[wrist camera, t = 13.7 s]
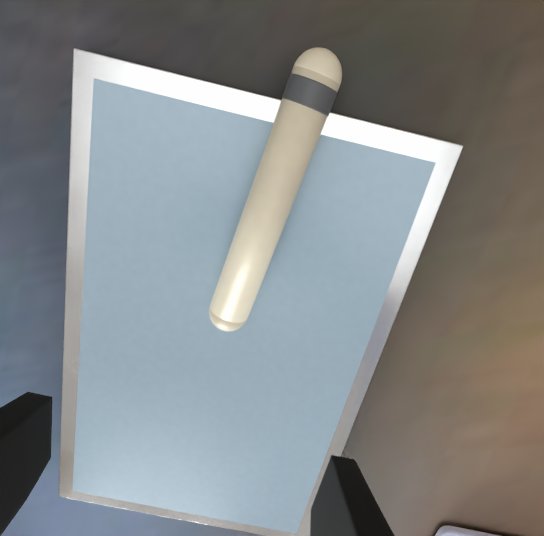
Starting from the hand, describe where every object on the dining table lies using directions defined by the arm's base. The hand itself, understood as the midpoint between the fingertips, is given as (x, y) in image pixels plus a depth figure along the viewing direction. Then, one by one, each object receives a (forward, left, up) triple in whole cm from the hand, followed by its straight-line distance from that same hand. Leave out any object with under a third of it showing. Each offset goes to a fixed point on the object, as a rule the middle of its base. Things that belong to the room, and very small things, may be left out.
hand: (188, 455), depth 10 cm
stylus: (0, 0, -6) cm, 6 cm away
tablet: (0, +2, -8) cm, 8 cm away
